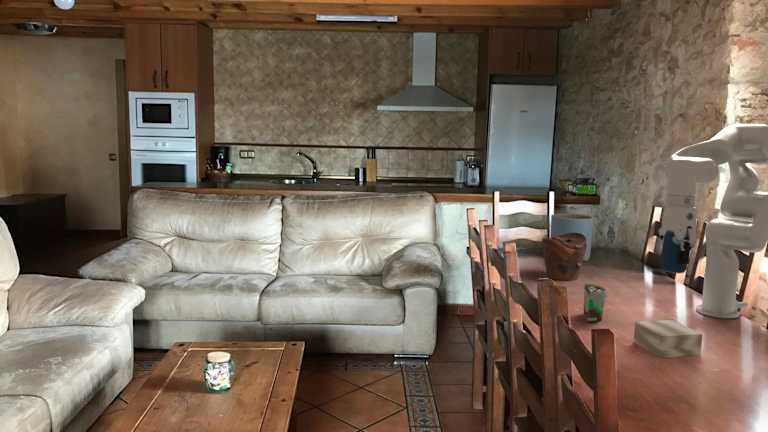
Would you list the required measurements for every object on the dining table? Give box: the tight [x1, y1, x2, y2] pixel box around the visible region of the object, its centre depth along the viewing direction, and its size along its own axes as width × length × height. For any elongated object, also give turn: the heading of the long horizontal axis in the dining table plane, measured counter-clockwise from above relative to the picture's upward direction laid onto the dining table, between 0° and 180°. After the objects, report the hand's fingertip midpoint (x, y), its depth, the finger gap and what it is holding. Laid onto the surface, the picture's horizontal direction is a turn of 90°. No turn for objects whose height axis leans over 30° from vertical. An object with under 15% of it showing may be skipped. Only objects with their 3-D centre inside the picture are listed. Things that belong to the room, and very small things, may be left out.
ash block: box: [633, 319, 703, 359], centre depth 163 cm, size 12×12×6 cm
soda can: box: [660, 231, 689, 274], centre depth 174 cm, size 7×7×12 cm
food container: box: [582, 283, 608, 324], centre depth 188 cm, size 12×6×10 cm, turn 168°
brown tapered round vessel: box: [540, 233, 587, 281], centre depth 242 cm, size 18×20×18 cm
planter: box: [550, 213, 595, 262], centre depth 279 cm, size 19×19×20 cm
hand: (674, 260), depth 175 cm, fingers closed on soda can, 6 cm apart
